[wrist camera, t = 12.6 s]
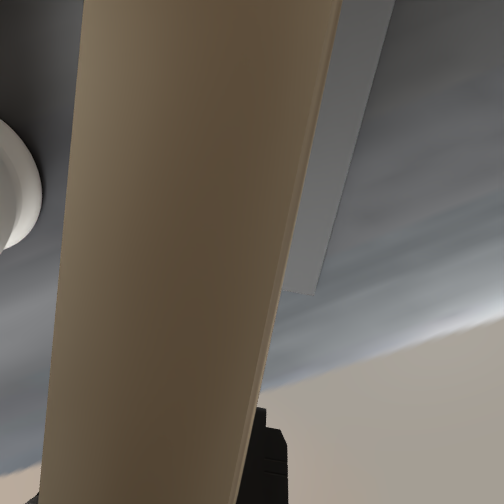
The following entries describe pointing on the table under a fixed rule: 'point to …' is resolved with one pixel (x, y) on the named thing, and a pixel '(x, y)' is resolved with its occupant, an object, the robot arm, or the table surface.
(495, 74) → the table surface
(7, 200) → the jar
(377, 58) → the mat
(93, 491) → the beige block
